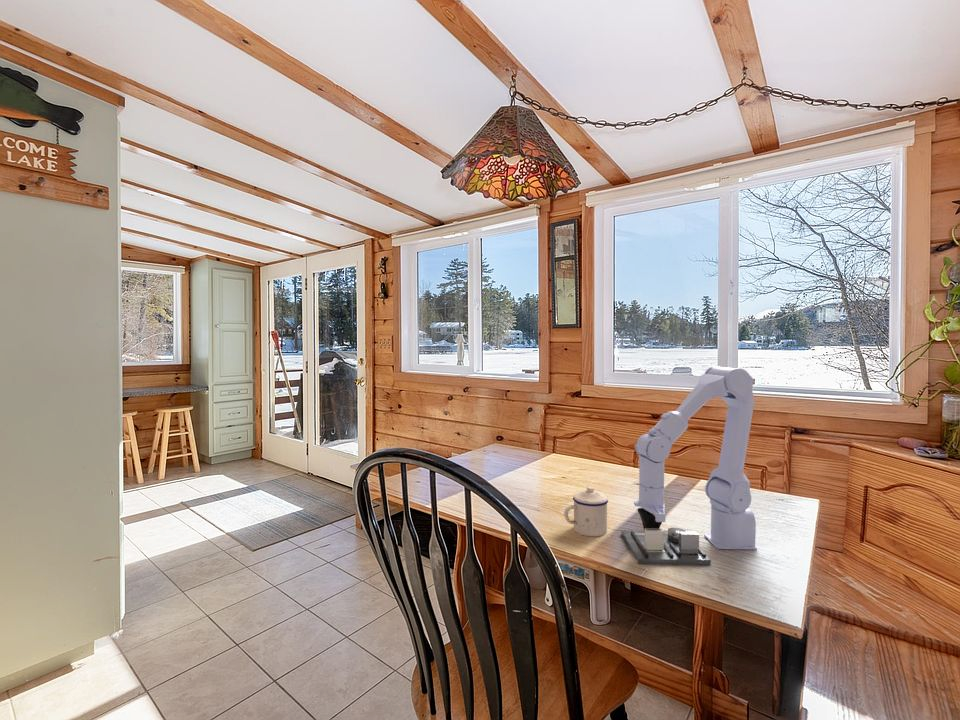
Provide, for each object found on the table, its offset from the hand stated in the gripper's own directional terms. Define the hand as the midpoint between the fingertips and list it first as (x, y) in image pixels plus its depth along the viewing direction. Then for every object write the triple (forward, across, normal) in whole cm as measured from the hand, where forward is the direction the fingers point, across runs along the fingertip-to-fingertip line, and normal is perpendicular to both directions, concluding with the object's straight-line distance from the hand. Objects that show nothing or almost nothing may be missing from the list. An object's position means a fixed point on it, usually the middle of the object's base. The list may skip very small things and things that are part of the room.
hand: (650, 539), depth 115 cm
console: (+2, 0, +3) cm, 4 cm away
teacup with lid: (+3, -10, -14) cm, 18 cm away
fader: (+1, +2, 0) cm, 3 cm away
